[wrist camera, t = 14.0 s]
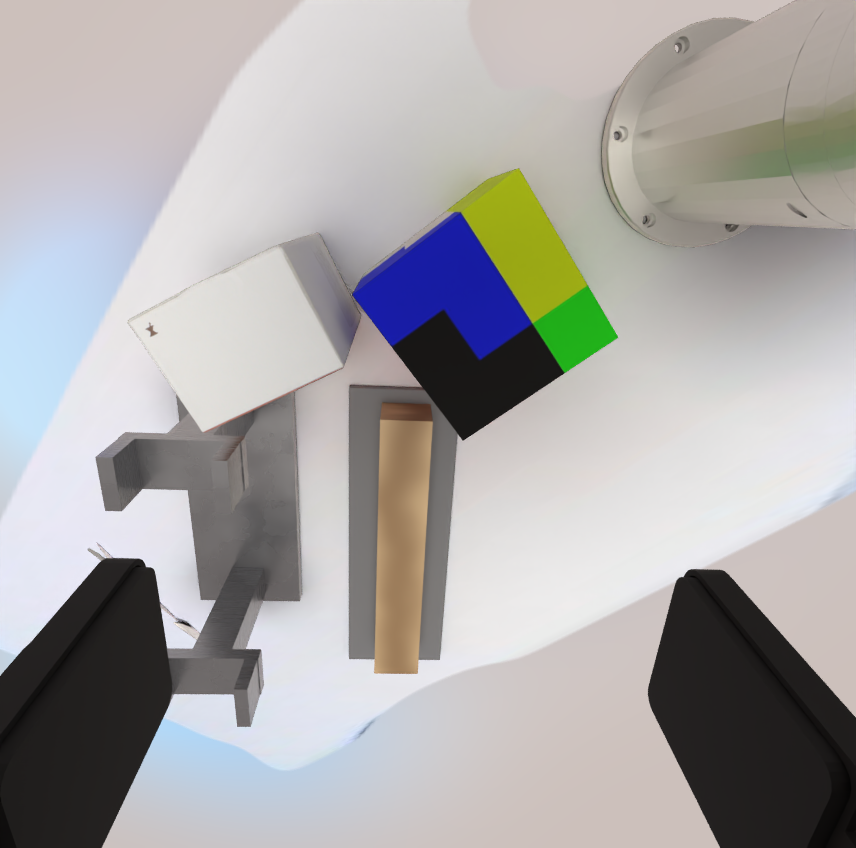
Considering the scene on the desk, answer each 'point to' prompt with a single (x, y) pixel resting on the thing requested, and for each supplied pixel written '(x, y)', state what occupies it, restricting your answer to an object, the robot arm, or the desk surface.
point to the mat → (365, 517)
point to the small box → (252, 331)
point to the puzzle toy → (485, 304)
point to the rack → (224, 532)
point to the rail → (401, 534)
